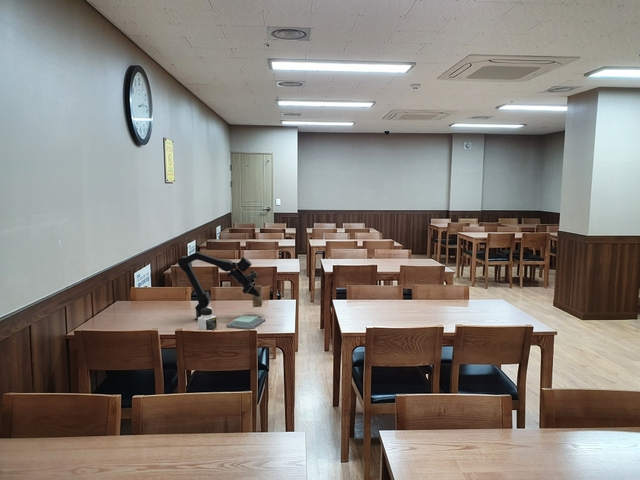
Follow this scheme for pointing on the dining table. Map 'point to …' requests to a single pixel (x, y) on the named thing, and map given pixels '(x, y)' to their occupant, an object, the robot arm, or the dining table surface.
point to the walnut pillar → (257, 300)
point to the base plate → (246, 322)
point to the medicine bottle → (207, 319)
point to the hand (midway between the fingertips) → (259, 294)
